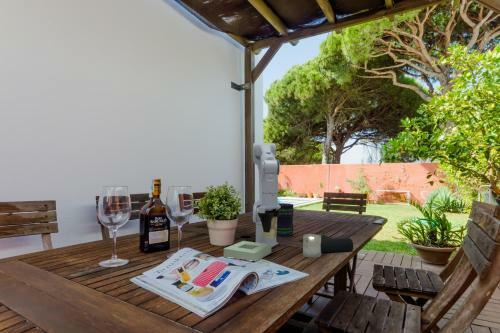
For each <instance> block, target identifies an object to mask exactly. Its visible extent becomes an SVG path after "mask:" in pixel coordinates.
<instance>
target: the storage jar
mask: <svg viewBox="0 0 500 333" xmlns="http://www.w3.org/2000/svg"><path fill="white" fill-rule="evenodd" d="M277 204H279V206H281V208H279V209H277V210H280V211H281V212H280V214H279V216H278V219H277V236H276V238H285V239H286V238H287V239H288V238H293V237H294V213H295V212H294V204H293V203H287V202H286V203H285V202H281V203H278V202H277Z"/></svg>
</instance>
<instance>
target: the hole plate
mask: <svg viewBox="0 0 500 333" xmlns="http://www.w3.org/2000/svg"><path fill="white" fill-rule="evenodd" d="M270 254H272V247H271V245H270V244H262V243H256V241H255V242H253V241H247V240H242V241H239V242H237V243H235V244H232V245H229V246H227V247H223V258H226V257H234V258H240V259H246V260H252V261H255V260H257V259H259V260H261V259H263V258H265V257H266V256H268V255H270Z"/></svg>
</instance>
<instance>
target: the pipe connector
mask: <svg viewBox="0 0 500 333" xmlns="http://www.w3.org/2000/svg"><path fill="white" fill-rule="evenodd" d="M319 235H320V236H321V254H325V253H339V252H352V251H353V250H354V241H353V240H352V239H351V238H350V237H344V238H343V237H342V238H341V237H340V238H339V237H338V238H332V237H331V236H330V235H329V236H328V235H326V234H319Z"/></svg>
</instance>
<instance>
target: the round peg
mask: <svg viewBox="0 0 500 333" xmlns="http://www.w3.org/2000/svg"><path fill="white" fill-rule="evenodd" d="M320 235H321V234H313V233H305V234H303V235H302V238H303V239H302V255H303V256H304V257H306V258H312V259H314V258H320V257H322V253H321V236H320Z"/></svg>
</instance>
